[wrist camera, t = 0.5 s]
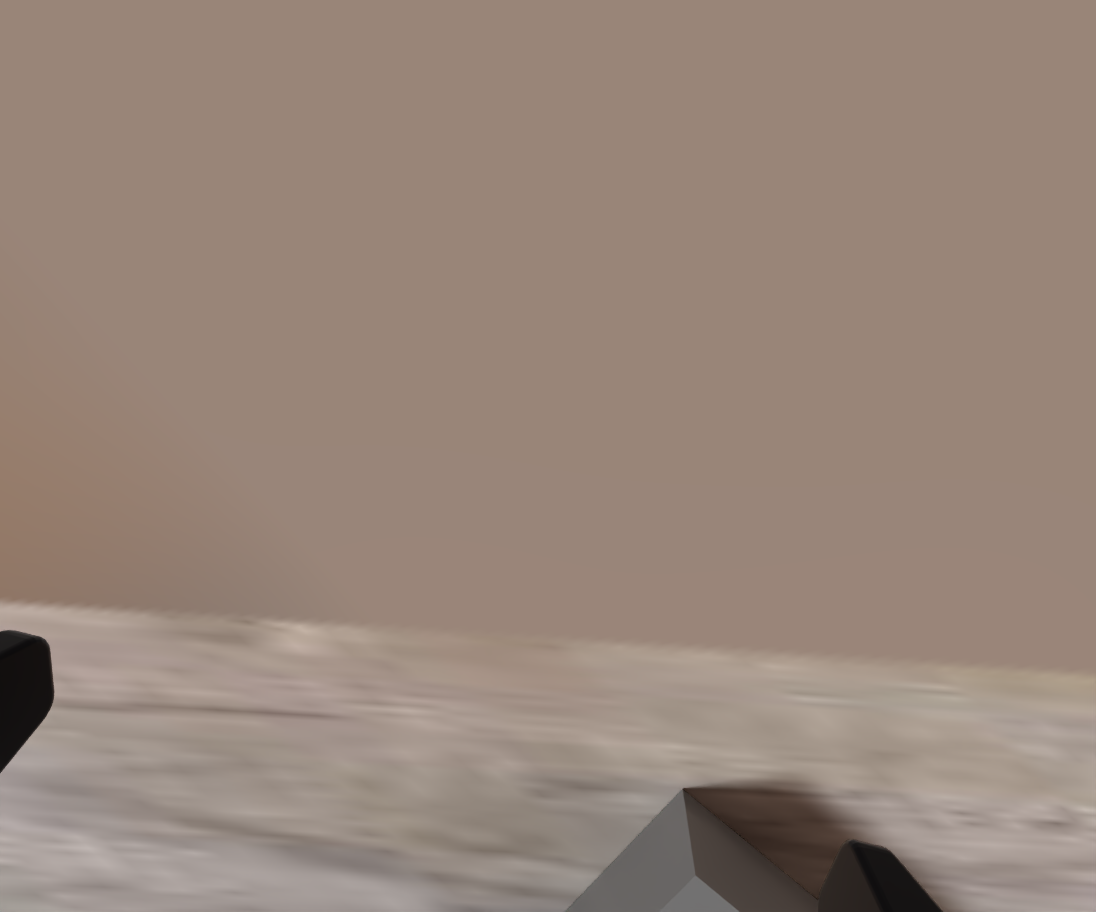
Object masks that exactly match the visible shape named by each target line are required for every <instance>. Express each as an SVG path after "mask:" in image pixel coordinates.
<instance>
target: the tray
mask: <svg viewBox="0 0 1096 912" xmlns="http://www.w3.org/2000/svg"><path fill="white" fill-rule="evenodd" d="M565 912H818V900H817V899H816V898H814V897H813V896H812V895H811V894H810V893H808V892H807V891H806V890H805V889H803V888H802V887H801V886H800V885H799V884H797V883H796V882H795V881H794V880H793V879H791V878H790V877H789V876H788V875H786V874H785V873H784V872H783V871H782V870H780V869H779V868H778V867H777V866H775V865H774V864H773V863H772V862H771V861H769V860H768V859H767V858H766V857H765V856H763V855H762V854H761V853H760V852H758V851H757V850H756V849H755V848H754V847H752V846H751V845H750V844H749V843H748V842H746V841H745V840H744V839H743V838H741V837H740V836H739V835H738V834H737V833H735V832H734V831H733V830H732V829H730V828H729V827H728V826H727V825H726V824H724V823H723V822H722V821H721V820H720V819H718V818H717V817H716V816H715V815H713V814H712V813H711V812H710V811H709V810H707V809H706V808H705V807H704V806H703V805H701V804H700V803H699V802H698V801H696V800H695V799H694V798H693V797H692V796H690V795H689V794H688V793H687V792H685V791H684V790H683V789H682V790H681V791H680V792H679V793H678V794H677V795H676V796H675V797H674V799H673V800H672V801H671V802H670V803H669V804H668V805H667V806H666V807H665V808H664V809H663V810H662V811H661V812H660V813H659V814H658V815H657V816H656V817H655V818H654V819H653V820H652V822H651V823H650V824H649V825H648V826H647V827H646V828H645V829H644V830H643V831H642V832H641V833H640V834H639V835H638V836H637V837H636V838H635V839H634V840H633V841H632V842H631V843H630V844H629V846H628V847H627V848H626V849H625V850H624V851H623V852H622V853H621V854H620V855H619V856H618V857H617V858H616V859H615V860H614V861H613V862H612V863H611V864H610V865H609V866H608V867H607V869H606V870H605V871H604V872H603V873H602V874H601V875H600V876H599V877H598V878H597V879H596V880H595V881H594V882H593V883H592V884H591V885H590V886H589V887H588V888H587V889H586V890H585V892H584V893H583V894H582V895H581V896H580V897H579V898H578V899H577V900H576V901H575V902H574V903H573V904H572V905H571V906H570V907H569V908H568V909H567V910H566V911H565Z"/></svg>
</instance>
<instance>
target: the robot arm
mask: <svg viewBox="0 0 1096 912" xmlns="http://www.w3.org/2000/svg"><path fill="white" fill-rule="evenodd" d="M53 700H54V684H53V673H52V663H51V653H50V647H49V644H48V643H47V641H46V640H45V639H43V638H42V637H39V636H35V635H31V634H27V633H23V632H19V631H13V630H6V631H1V632H0V773H1V772H2V770H3V769H4V768H5V767H6V766H7V764H8V763H9V762H10V761H11V759H12V758H13V757H14V756H15V754H16V753H17V752H18V751H19V750H20V748H21V747H22V746H23V745H24V743H25V742H26V741H27V740H28V738H29V737H30V736H31V735H32V734H33V732H34V731H35V730H36V729H37V727H38V726H39V725H40V724H41V722H42V721H43V720H44V719H45V717H46V716H47V714H48V712H49V710H50V708H51V706H52V703H53ZM818 912H943V911H942V910H941V909H940V907H939V906H938V905H937V904H936V903H935V902H934V900H933V899H932V898H931V897H930V896H929V895H928V893H927V892H926V891H925V890H924V889H923V888H922V886H921V885H920V884H919V883H918V882H917V881H916V879H915V878H914V877H913V876H912V875H911V874H910V873H909V871H908V870H907V869H906V868H905V867H904V866H903V864H902V863H901V862H900V861H899V860H898V859H897V857H896V856H895V855H894V854H893V853H892V852H891V851H889V850H888V849H886V848H884V847H882V846H878V845H874V844H870V843H866V842H862V841H858V840H854V839H852V840H847V841H846V842H844V843H843V844H842V846H841V848H840V849H839V851H838V854H837V856H836V858H835V860H834V862H833V864H832V866H831V869H830V871H829V873H828V875H827V877H826V879H825V881H824V884H823V886H822V888H821V891H820V894H819V898H818Z"/></svg>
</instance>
